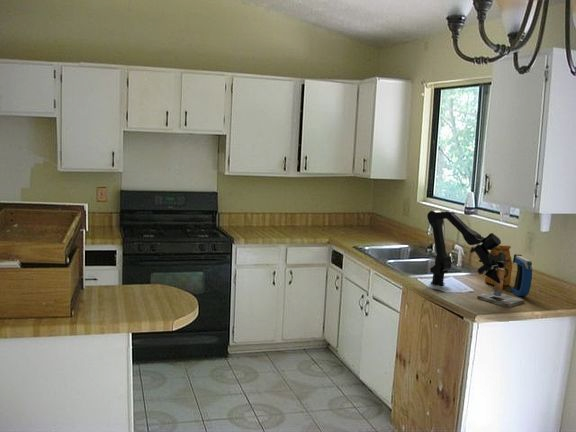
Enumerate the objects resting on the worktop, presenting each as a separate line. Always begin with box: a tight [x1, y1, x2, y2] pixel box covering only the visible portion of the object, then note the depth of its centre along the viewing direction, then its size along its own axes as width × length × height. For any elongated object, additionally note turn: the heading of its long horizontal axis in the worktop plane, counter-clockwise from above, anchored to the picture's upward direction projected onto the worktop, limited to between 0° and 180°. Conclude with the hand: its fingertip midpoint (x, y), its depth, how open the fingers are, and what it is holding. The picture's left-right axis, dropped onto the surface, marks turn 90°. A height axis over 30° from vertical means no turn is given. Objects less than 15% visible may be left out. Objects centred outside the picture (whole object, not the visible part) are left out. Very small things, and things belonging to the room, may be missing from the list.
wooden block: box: [493, 268, 505, 296], centre depth 286 cm, size 4×4×13 cm
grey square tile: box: [476, 291, 525, 308], centre depth 290 cm, size 16×16×2 cm
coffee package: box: [484, 244, 513, 286], centre depth 322 cm, size 10×12×22 cm
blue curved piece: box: [509, 253, 533, 297], centre depth 303 cm, size 5×16×20 cm, turn 2°
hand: (501, 282), depth 285 cm, fingers closed on wooden block, 4 cm apart
